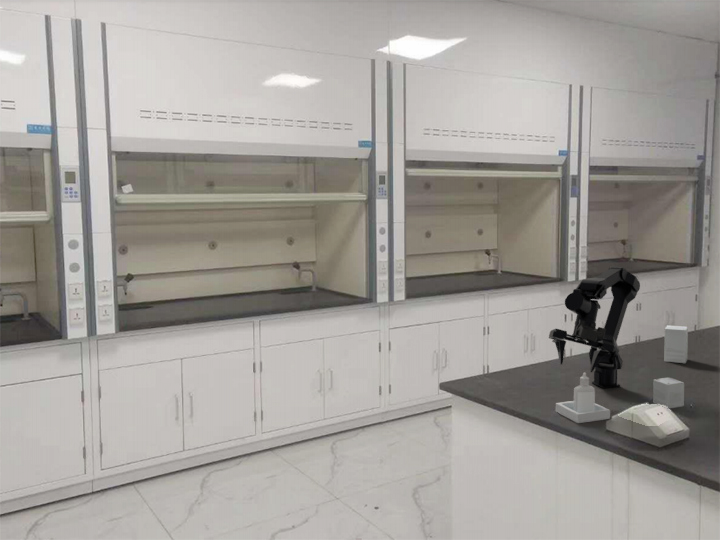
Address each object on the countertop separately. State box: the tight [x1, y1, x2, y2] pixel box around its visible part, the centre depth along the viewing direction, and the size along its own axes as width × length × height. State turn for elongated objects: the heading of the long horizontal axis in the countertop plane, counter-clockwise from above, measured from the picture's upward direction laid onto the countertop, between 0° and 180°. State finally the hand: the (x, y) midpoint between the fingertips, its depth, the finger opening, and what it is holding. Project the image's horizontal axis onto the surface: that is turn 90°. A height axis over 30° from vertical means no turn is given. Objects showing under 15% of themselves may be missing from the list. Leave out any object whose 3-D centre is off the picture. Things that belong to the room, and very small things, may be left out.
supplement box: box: [663, 324, 689, 364], centre depth 237 cm, size 7×7×13 cm
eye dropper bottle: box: [573, 372, 596, 413], centre depth 181 cm, size 4×6×12 cm
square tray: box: [555, 400, 611, 424], centre depth 181 cm, size 10×10×2 cm
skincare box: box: [652, 377, 685, 409], centre depth 188 cm, size 6×6×7 cm
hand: (576, 368), depth 194 cm, fingers open, 9 cm apart
